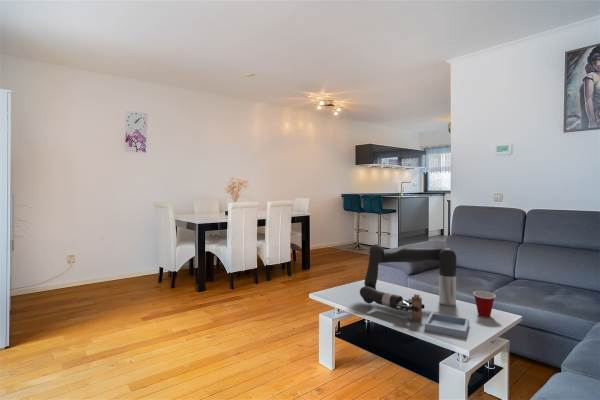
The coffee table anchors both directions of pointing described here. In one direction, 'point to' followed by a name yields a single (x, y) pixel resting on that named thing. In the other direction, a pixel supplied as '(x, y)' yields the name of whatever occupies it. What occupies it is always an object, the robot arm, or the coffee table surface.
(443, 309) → the coffee table surface
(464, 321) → the bin
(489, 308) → the plastic cup
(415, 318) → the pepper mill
